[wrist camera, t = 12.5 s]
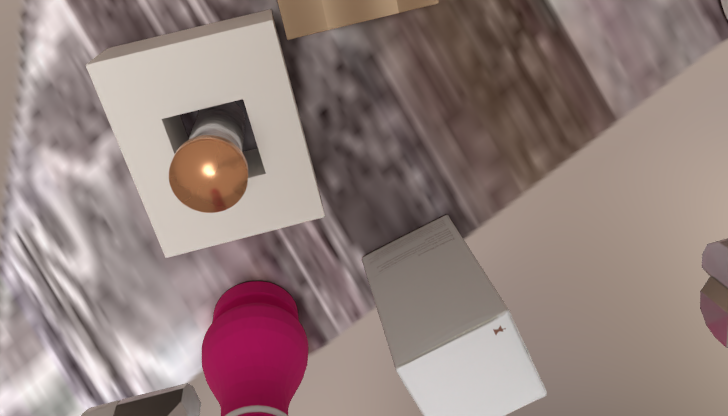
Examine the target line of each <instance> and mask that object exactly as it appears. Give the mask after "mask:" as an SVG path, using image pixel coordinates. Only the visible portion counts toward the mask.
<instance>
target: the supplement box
mask: <svg viewBox="0 0 728 416" xmlns="http://www.w3.org/2000/svg"><path fill="white" fill-rule="evenodd" d="M362 262H363V265H364V269H365V272H366V275H367V279H368V282H369V285H370V288H371V291H372V295H373V298H374V301H375V304H376V307H377V310H378V314H379V317H380V320H381V323H382V326H383V330H384V333H385V336H386V339H387V342H388V346H389V349H390V352H391V356H392V359H393V362H394V365H395V369H396V371H397V373H398V375H399V377H400V379H401V380H402V382H403V384H404V385H405V387H406V388H407V390H408V392H409V393H410V395H411V397H412V398H413V400H414V402H415V403H416V405H417V406H418V408H419V409H420V411H421V413H422V414H423V416H505V415H507V414H509V413H511V412H513V411H515V410H517V409H519V408H521V407H523V406H525V405H527V404H529V403H532V402H534V401H536V400H538V399H540V398H542V397H544V396H546V395H547V392H546V389H545V387H544V385H543V383H542V381H541V378H540V376H539V374H538V372H537V370H536V368H535V365H534V363H533V361H532V359H531V357H530V354H529V352H528V349H527V348H526V346H525V344H524V342H523V340H522V338H521V335H520V333H519V331H518V329H517V327H516V325H515V322H514V320H513V318H512V316H511V313H510V311H509V309H508V308H507V307H506V305H505V303H504V302H503V300H502V299H501V297H500V295H499V294H498V292H497V291H496V289H495V288H494V286H493V285H492V283H491V282H490V280H489V279H488V277H487V275H486V274H485V272H484V271H483V269H482V268H481V266H480V265H479V263H478V261H477V260H476V258H475V257H474V255H473V254H472V252H471V251H470V249H469V247H468V246H467V244H466V243H465V241H464V240H463V238H462V237H461V235H460V233H459V232H458V230H457V229H456V227H455V226H454V224H453V222H452V221H451V219H450V217H449V216H448V215H445V216H443V217H441V218H439V219H437V220H435V221H433V222H431V223H429V224H427V225H425V226H423V227H421V228H419V229H417V230H415V231H413V232H411V233H409V234H407V235H405V236H403V237H401V238H399V239H397V240H395V241H393V242H391V243H389V244H387V245H385V246H383V247H381V248H379V249H378V250H375V251H373V252H371V253H370V254H368V255H366V256H365V257H363V258H362Z"/></svg>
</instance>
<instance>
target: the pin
mask: <svg viewBox="0 0 728 416" xmlns="http://www.w3.org/2000/svg"><path fill="white" fill-rule="evenodd" d="M244 130H245V116H244V113H243V111H242V109H241V108H240V106H239V105H238V104H236V103H235V102H234V101H233V102H229V103H225V104H221V105H217V106H213V107H209V108H205V109H200V110H199V112H198V115H197V118H196V121H195V123H194V126H193V129H192V132H191V135H190V137H189V140H188V141H186V142H185V143H183V144H182V145H181V146H180V147H179V148H178V150H177V151H176V153H175V155H174V157H173V160H172V162H171V165H170V168H169V183H170V186H171V189H172V191H173V193H174V194H175V196H176V197H177V198H178V199H179V200H180V201H181V202H182V203H183V204H184V205H186V206H187V207H189V208H191V209H193V210H196V211H200V212H205V213H215V212H221V211H224V210H226V209H229V208H230V207H232V206H234V205H235V204H236V203H237V202H238V201H239V200H240V199H241V198H242V196H243V195H244V193H245V191H246V188H247V183H248V165H247V161H246V158H245V156H244V155H243V153H242V150H243V140H244Z"/></svg>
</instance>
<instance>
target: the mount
mask: <svg viewBox="0 0 728 416" xmlns="http://www.w3.org/2000/svg"><path fill="white" fill-rule="evenodd" d="M277 1H278V5H279V9H280V13H281V17H282V21H283V25H284V28H285V32H286V36H287V40H289V39H294V38H298V37H302V36H306V35H310V34H314V33H318V32H322V31H327V30H331V29H335V28H339V27H343V26H347V25H351V24H355V23H359V22H364V21H368V20H372V19H376V18H380V17H384V16H388V15H392V14H397V13H401V12H405V11H409V10H413V9H417V8H421V7H425V6H430V5H434V4H438V3H439V1H438V0H277Z"/></svg>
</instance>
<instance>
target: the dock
mask: <svg viewBox="0 0 728 416" xmlns="http://www.w3.org/2000/svg"><path fill="white" fill-rule="evenodd" d="M86 67H87V70H88V72H89V74H90V77H91V79H92V82H93V84H94V86H95V89H96V91H97V94H98V96H99V99H100V101H101V103H102V106H103V108H104V111H105V113H106V115H107V118H108V120H109V123H110V125H111V127H112V130H113V132H114V135H115V137H116V139H117V142H118V144H119V147H120V149H121V151H122V154H123V156H124V159H125V161H126V163H127V166H128V168H129V171H130V173H131V176H132V178H133V180H134V183H135V185H136V188H137V190H138V192H139V195H140V197H141V200H142V202H143V204H144V207H145V209H146V212H147V214H148V216H149V219H150V221H151V224H152V226H153V228H154V231H155V233H156V236H157V238H158V240H159V243H160V245H161V248H162V250H163V253H164V255H165V257H166V258H168V257H172V256H175V255H179V254H183V253H187V252H191V251H195V250H199V249H203V248H206V247H210V246H214V245H218V244H222V243H226V242H230V241H234V240H237V239H241V238H245V237H249V236H253V235H257V234H261V233H264V232H268V231H272V230H276V229H280V228H284V227H288V226H292V225H295V224H299V223H303V222H307V221H311V220H315V219H319V218H323V217H325V214H324V210H323V205H322V201H321V196H320V192H319V187H318V183H317V180H316V176H315V172H314V168H313V165H312V161H311V157H310V153H309V150H308V146H307V142H306V138H305V135H304V131H303V127H302V123H301V120H300V116H299V112H298V108H297V105H296V101H295V97H294V93H293V90H292V86H291V82H290V78H289V74H288V71H287V67H286V63H285V59H284V56H283V52H282V48H281V44H280V41H279V37H278V33H277V29H276V26H275V22H274V18H273V14H272V11H271V9H270V10H265V11H261V12H257V13H253V14H249V15H244V16H240V17H236V18H232V19H228V20H224V21H219V22H215V23H211V24H207V25H203V26H199V27H194V28H190V29H186V30H182V31H178V32H173V33H169V34H165V35H161V36H157V37H153V38H148V39H144V40H140V41H136V42H132V43H128V44H123V45H119V46H115V47H111V48H107V49H106V50H105V51H103V52H102V53H101V54H99V55H98V56H97V57H95V58H94V59H93V60H91V61H90V62H89V63H87V64H86ZM241 99H243V100H244V104H245V107H246V110H247V114H248V117H249V120H250V123H251V127H252V130H253V133H254V136H255V140H256V143H257V146H258V148H257V149H253V150H249V151H245V152H242V153H243V155H244V156H245V158H246V161H247V165H248V183H247V188H246V191H245V193H244V195H243V196H242V198H241V199H240V200H239V201H238V202H237V203H236V204H235V205H234V206H232V207H230V208H229V209H226V210H224V211H221V212H215V213H205V212H200V211H196V210H193V209H191V208H189V207H187V206H186V205H184V204H183V203H182V202H181V201H180V200H179V199H178V198H177V197H176V196H175V194H174V193H173V191H172V189H171V186H170V183H169V168H170V165H171V162H172V160H173V157H174V155H175V153H176V151H177V150H178V148H179V147H180V146H181V145H182V144H183V143H185V142H186V141H188V140H189V139H188V136H187V133H186V130H185V128H184V125H183V122H182V119H181V116H180V114H184V113H188V112H192V111H196V110H200V109H205V108H209V107H213V106H217V105H221V104H225V103H229V102H233V101H237V100H241Z"/></svg>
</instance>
